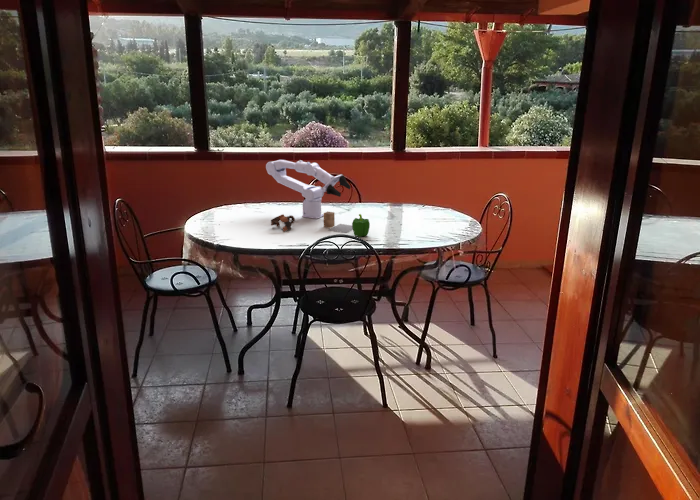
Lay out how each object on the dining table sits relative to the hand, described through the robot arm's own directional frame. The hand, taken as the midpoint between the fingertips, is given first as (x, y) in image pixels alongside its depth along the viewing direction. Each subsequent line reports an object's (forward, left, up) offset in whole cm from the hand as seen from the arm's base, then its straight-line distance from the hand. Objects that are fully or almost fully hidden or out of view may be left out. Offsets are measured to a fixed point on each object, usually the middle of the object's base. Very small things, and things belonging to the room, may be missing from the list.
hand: (345, 191), depth 277 cm
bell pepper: (+17, -16, -17) cm, 29 cm away
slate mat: (+4, -10, -16) cm, 20 cm away
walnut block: (-4, -10, -16) cm, 19 cm away
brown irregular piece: (-22, -24, -17) cm, 36 cm away
